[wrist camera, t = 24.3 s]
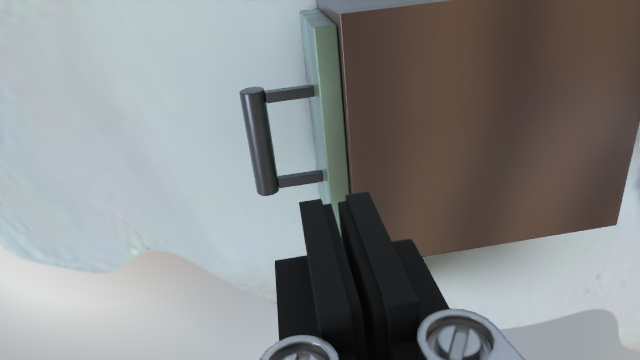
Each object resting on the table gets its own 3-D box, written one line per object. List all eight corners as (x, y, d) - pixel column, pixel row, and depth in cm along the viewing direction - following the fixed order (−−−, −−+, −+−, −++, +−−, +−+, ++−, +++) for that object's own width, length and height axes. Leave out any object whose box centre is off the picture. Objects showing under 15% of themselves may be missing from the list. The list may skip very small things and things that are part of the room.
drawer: (263, 209, 34) (267, 265, 28) (230, 18, 28) (225, 38, 22) (520, 170, 36) (574, 215, 30) (540, -19, 30) (614, -10, 24)
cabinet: (334, 199, 36) (358, 267, 28) (315, -4, 29) (339, 13, 22) (541, 168, 37) (616, 225, 30) (567, -33, 31) (673, -27, 23)
